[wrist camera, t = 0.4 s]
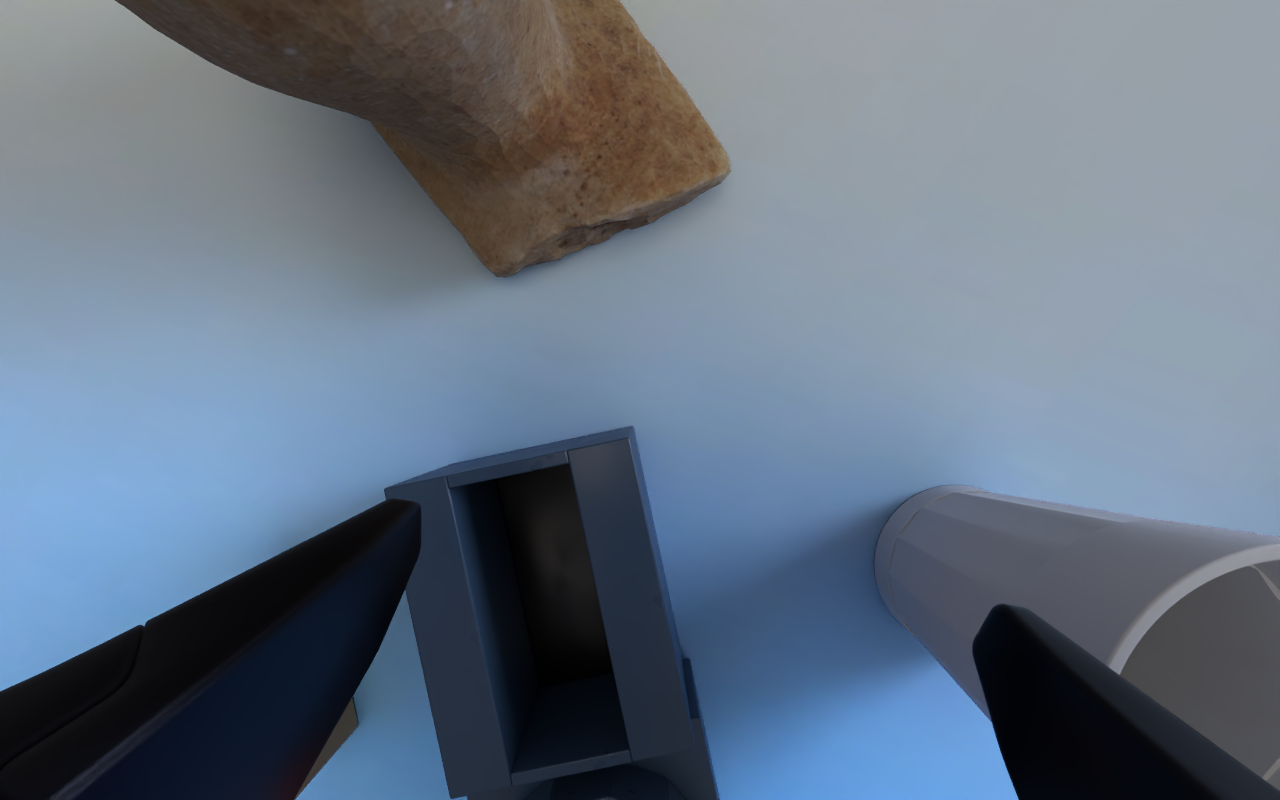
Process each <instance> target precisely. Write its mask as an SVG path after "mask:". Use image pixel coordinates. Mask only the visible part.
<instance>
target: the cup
mask: <svg viewBox="0 0 1280 800" xmlns="http://www.w3.org/2000/svg"><path fill="white" fill-rule="evenodd" d="M874 571H875V579H876V584H877V587H878V590H879V593H880V596H881V598H882V600H883V602H884V604H885V605H886V607H887V609H888V610H889V611H890V613H891V614H892V615H893V616H894V618H895V619H896V620H897V621H898V622H899V623H900V624H901V625H903V626H904V627H905V628H906V629H907V630H908V631H909V632H910V633H912V634H913V635H914V636H915V637H916V638H917V639H918V640H919V641H920V642H921V643H922V644H923V645H924V647H925V648H926V649H927V650H928V651H929V652H930V653H931V654H932V656H933V657H934V658H935V659H936V660H937V661H938V662H939V663H940V665H941V666H942V667H943V668H944V669H945V670H946V671H947V672H948V674H949V675H950V676H951V677H952V678H953V679H954V680H955V681H956V683H957V684H958V685H959V686H960V687H961V688H962V689H963V690H964V692H965V693H966V694H967V695H968V696H969V697H970V698H971V699H972V701H973V702H974V703H975V704H976V705H977V706H978V707H979V708H980V710H981V711H982V712H983V713H984V714H985V715H986V716H987V717H988V719H989V720H990V721H991V717H990V714H989V710H988V707H987V704H986V700H985V697H984V693H983V690H982V686H981V683H980V679H979V676H978V672H977V669H976V666H975V662H974V659H973V654H972V644H973V640H974V638H975V636H976V634H977V633H978V631H979V629H980V627H981V626H982V624H983V622H984V621H985V619H986V617H987V616H988V614H989V612H990V610H991V609H992V608H993V607H994V606H995V605H997V604H1001V603H1004V604H1009V605H1015V606H1021V607H1024V608H1027V609H1029V610H1030V611H1032V612H1033V613H1035V614H1036V615H1037V616H1039V617H1040V618H1042V619H1043V620H1044V621H1046V622H1047V623H1049V624H1050V625H1051V626H1053V627H1054V628H1055V629H1057V630H1058V631H1060V632H1061V633H1062V634H1064V635H1065V636H1066V637H1068V638H1069V639H1071V640H1072V641H1073V642H1075V643H1076V644H1078V645H1079V646H1080V647H1082V648H1083V649H1084V650H1086V651H1087V652H1089V653H1090V654H1091V655H1093V656H1094V657H1095V658H1097V659H1098V660H1100V661H1101V662H1102V663H1104V664H1105V665H1107V666H1108V667H1109V668H1111V669H1112V670H1113V671H1115V672H1116V673H1118V674H1119V675H1120V676H1122V677H1123V678H1124V679H1126V680H1127V681H1129V682H1130V683H1131V684H1133V685H1134V686H1136V687H1137V688H1138V689H1140V690H1141V691H1142V692H1144V693H1145V694H1147V695H1148V696H1149V697H1151V698H1152V699H1153V700H1155V701H1156V702H1158V703H1159V704H1160V705H1162V706H1163V707H1165V708H1166V709H1167V710H1169V711H1170V712H1171V713H1173V714H1174V715H1176V716H1177V717H1178V718H1180V719H1181V720H1182V721H1184V722H1185V723H1187V724H1188V725H1189V726H1191V727H1192V728H1194V729H1195V730H1196V731H1198V732H1199V733H1200V734H1202V735H1203V736H1205V737H1206V738H1207V739H1209V740H1210V741H1211V742H1213V743H1214V744H1216V745H1217V746H1218V747H1220V748H1221V749H1223V750H1224V751H1225V752H1227V753H1228V754H1229V755H1231V756H1232V757H1234V758H1235V759H1236V760H1238V761H1239V762H1240V763H1242V764H1243V765H1245V766H1246V767H1247V768H1249V769H1250V770H1252V771H1253V772H1254V773H1256V774H1257V775H1258V776H1260V777H1261V778H1263V779H1264V780H1265V781H1267V782H1268V783H1269V784H1271V785H1272V786H1274V787H1275V788H1276V789H1278V790H1279V791H1280V537H1278V536H1271V535H1264V534H1257V533H1250V532H1243V531H1236V530H1229V529H1222V528H1215V527H1208V526H1202V525H1195V524H1188V523H1181V522H1174V521H1165V520H1158V519H1152V518H1146V517H1140V516H1134V515H1127V514H1121V513H1115V512H1109V511H1103V510H1096V509H1090V508H1084V507H1078V506H1072V505H1065V504H1059V503H1053V502H1047V501H1041V500H1034V499H1028V498H1022V497H1016V496H1010V495H1003V494H997V493H992V492H989V491H985V490H982V489H978V488H974V487H970V486H963V485H946V486H939V487H935V488H931V489H928V490H925V491H923V492H921V493H919V494H917V495H915V496H913V497H911V498H910V499H908V500H907V501H906V502H904V503H903V504H902V505H901V506H900V507H899V508H898V509H897V510H896V511H895V512H894V513H893V514H892V515H891V517H890V518H889V519H888V521H887V523H886V524H885V526H884V528H883V530H882V532H881V534H880V536H879V539H878V542H877V546H876V551H875V559H874ZM991 722H992V721H991Z"/></svg>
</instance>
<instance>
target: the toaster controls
mask: <svg viewBox="0 0 1280 800" xmlns="http://www.w3.org/2000/svg"><path fill="white" fill-rule="evenodd" d="M682 661H683V668H684V675H685V682H686V689H687V695H688V702H689V709H690V716H691V723H692V730H693V737H694V743H695V748H694V749H693V750H688V751H683V752H678V753H673V754H668V755H663V756H659V757H654V758H649V759H644V760H639V761H633V760H632V762H631V763H626V764H621V765H616V766H611V767H606V768H602V769H597V770H592V771H587V772H582V773H577V774H572V775H567V776H563V777H558V778H553V779H548V780H543V781H538V782H533V783H528V784H524V785H519V786H513V785H512V786H511V787H507V788H502V789H497V790H492V791H487V792H483V793H478V794H473V795H468V796H467V798H468V800H720V798H719V794H718V789H717V784H716V779H715V775H714V770H713V765H712V760H711V756H710V751H709V746H708V741H707V737H706V732H705V727H704V722H703V718H702V713H701V708H700V703H699V699H698V694H697V689H696V684H695V680H694V675H693V670H692V665H691V661H690V659H684V660H682Z"/></svg>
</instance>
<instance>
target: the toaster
mask: <svg viewBox="0 0 1280 800" xmlns="http://www.w3.org/2000/svg"><path fill="white" fill-rule="evenodd" d="M384 492H385V497H386V500H387V499H390V498H393V497H396V498H403V499H408V500H414V501H417V502H418V503H419V504H420V506H421V549H420V553H419V557H418V560H417V562H416V564H415V567H414V569H413V571H412V574H411V576H410V578H409V581H408V583H407V585H406V588H405V590H406V594H407V599H408V604H409V608H410V613H411V618H412V622H413V627H414V632H415V636H416V641H417V646H418V650H419V655H420V660H421V664H422V669H423V674H424V678H425V683H426V688H427V692H428V697H429V701H430V706H431V711H432V715H433V720H434V725H435V729H436V734H437V739H438V743H439V748H440V753H441V757H442V762H443V767H444V771H445V776H446V781H447V785H448V790H449V795H450V798H451V799H453V798H458V797H463V796H468V795H473V794H478V793H483V792H487V791H492V790H497V789H502V788H507V787H511V786H512V785H513V786H519V785H524V784H528V783H533V782H538V781H543V780H548V779H553V778H558V777H563V776H567V775H572V774H577V773H582V772H587V771H592V770H597V769H602V768H606V767H611V766H616V765H621V764H626V763H631V762H632V760H633V761H639V760H644V759H649V758H654V757H659V756H663V755H668V754H673V753H678V752H683V751H688V750H693V749H694V748H695V743H694V737H693V730H692V723H691V716H690V709H689V702H688V695H687V689H686V682H685V675H684V668H683V661H682V655H681V650H680V645H679V640H678V636H677V631H676V626H675V621H674V617H673V612H672V607H671V602H670V598H669V593H668V588H667V584H666V579H665V574H664V569H663V565H662V560H661V555H660V550H659V546H658V541H657V536H656V531H655V527H654V522H653V517H652V512H651V508H650V503H649V498H648V493H647V489H646V484H645V479H644V474H643V470H642V465H641V460H640V455H639V451H638V446H637V441H636V436H635V432H634V427H633V426H630V427H625V428H620V429H615V430H611V431H606V432H601V433H596V434H592V435H588V436H582V437H577V438H572V439H568V440H563V441H558V442H553V443H549V444H544V445H539V446H534V447H530V448H525V449H520V450H515V451H511V452H506V453H501V454H498V455H492V456H487V457H482V458H477V459H473V460H468V461H463V462H458V463H454V464H450V465H448V466H445V467H442V468H439V469H437V470H434V471H431V472H428V473H426V474H423V475H420V476H417V477H415V478H412V479H409V480H406V481H404V482H401V483H398V484H395V485H393V486H390V487H387V488H385V489H384Z"/></svg>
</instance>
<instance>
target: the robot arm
mask: <svg viewBox="0 0 1280 800" xmlns="http://www.w3.org/2000/svg"><path fill="white" fill-rule="evenodd" d="M420 549H421V506H420V504H419V503H418V502H417V501H414V500H408V499H403V498H396V497H393V498H390V499H387V500H385V501H383V502H382V503H380V504H378V505H376V506H374V507H372V508H370V509H368V510H366V511H364V512H362V513H360V514H358V515H356V516H354V517H352V518H350V519H348V520H346V521H344V522H342V523H340V524H338V525H336V526H334V527H332V528H330V529H328V530H326V531H324V532H322V533H320V534H318V535H316V536H314V537H312V538H310V539H308V540H306V541H304V542H302V543H300V544H298V545H296V546H294V547H293V548H291V549H289V550H287V551H285V552H283V553H281V554H279V555H277V556H275V557H273V558H271V559H269V560H267V561H265V562H263V563H261V564H259V565H257V566H255V567H253V568H251V569H249V570H247V571H245V572H243V573H241V574H239V575H237V576H235V577H233V578H231V579H229V580H227V581H225V582H223V583H221V584H219V585H217V586H215V587H213V588H211V589H209V590H207V591H206V592H204V593H202V594H200V595H198V596H196V597H194V598H192V599H190V600H188V601H186V602H184V603H182V604H180V605H178V606H176V607H174V608H172V609H170V610H168V611H166V612H164V613H162V614H160V615H158V616H156V617H154V618H152V619H150V620H148V621H147V622H146V624H145V627H144V626H143V625H138V626H136V627H134V628H132V629H130V630H128V631H126V632H124V633H122V634H120V635H118V636H116V637H114V638H112V639H110V640H108V641H106V642H104V643H102V644H100V645H98V646H96V647H94V648H92V649H90V650H88V651H86V652H84V653H82V654H80V655H78V656H75V657H73V658H71V659H69V660H67V661H65V662H63V663H61V664H59V665H57V666H55V667H53V668H51V669H49V670H47V671H45V672H42V673H40V674H38V675H36V676H34V677H31V678H29V679H27V680H25V681H22V682H20V683H18V684H16V685H14V686H11V687H9V688H7V689H5V690H3V691H0V800H294V799H295V797H296V795H297V794H298V792H299V790H300V788H301V787H302V785H303V783H304V781H305V780H306V778H307V776H308V774H309V773H310V771H311V769H312V767H313V765H314V764H315V762H316V760H317V758H318V757H319V755H320V753H321V751H322V750H323V748H324V746H325V744H326V743H327V741H328V739H329V737H330V735H331V734H332V732H333V730H334V728H335V727H336V725H337V723H338V721H339V720H340V718H341V716H342V714H343V713H344V711H345V709H346V707H347V705H348V704H349V702H350V700H351V698H352V697H353V695H354V693H355V691H356V690H357V688H358V686H359V684H360V682H361V681H362V679H363V677H364V675H365V674H366V672H367V670H368V668H369V667H370V665H371V663H372V661H373V659H374V657H375V655H376V653H377V652H378V650H379V647H380V645H381V643H382V641H383V639H384V636H385V634H386V632H387V630H388V627H389V625H390V623H391V620H392V618H393V616H394V613H395V611H396V609H397V606H398V604H399V602H400V599H401V597H402V595H403V592H404V590H405V588H406V585H407V583H408V581H409V578H410V576H411V574H412V571H413V569H414V567H415V564H416V562H417V560H418V557H419V553H420ZM972 654H973V659H974V662H975V666H976V669H977V672H978V676H979V679H980V683H981V686H982V690H983V693H984V697H985V700H986V704H987V707H988V710H989V714H990V717H991V721H992V724H993V728H994V731H995V735H996V738H997V741H998V744H999V748H1000V751H1001V754H1002V757H1003V760H1004V762H1005V765H1006V768H1007V771H1008V773H1009V776H1010V778H1011V781H1012V783H1013V786H1014V789H1015V791H1016V794H1017V796H1018V799H1019V800H1280V791H1279V790H1278V789H1276V788H1275V787H1274V786H1272V785H1271V784H1269V783H1268V782H1267V781H1265V780H1264V779H1263V778H1261V777H1260V776H1258V775H1257V774H1256V773H1254V772H1253V771H1252V770H1250V769H1249V768H1247V767H1246V766H1245V765H1243V764H1242V763H1240V762H1239V761H1238V760H1236V759H1235V758H1234V757H1232V756H1231V755H1229V754H1228V753H1227V752H1225V751H1224V750H1223V749H1221V748H1220V747H1218V746H1217V745H1216V744H1214V743H1213V742H1211V741H1210V740H1209V739H1207V738H1206V737H1205V736H1203V735H1202V734H1200V733H1199V732H1198V731H1196V730H1195V729H1194V728H1192V727H1191V726H1189V725H1188V724H1187V723H1185V722H1184V721H1182V720H1181V719H1180V718H1178V717H1177V716H1176V715H1174V714H1173V713H1171V712H1170V711H1169V710H1167V709H1166V708H1165V707H1163V706H1162V705H1160V704H1159V703H1158V702H1156V701H1155V700H1153V699H1152V698H1151V697H1149V696H1148V695H1147V694H1145V693H1144V692H1142V691H1141V690H1140V689H1138V688H1137V687H1136V686H1134V685H1133V684H1131V683H1130V682H1129V681H1127V680H1126V679H1124V678H1123V677H1122V676H1120V675H1119V674H1118V673H1116V672H1115V671H1113V670H1112V669H1111V668H1109V667H1108V666H1107V665H1105V664H1104V663H1102V662H1101V661H1100V660H1098V659H1097V658H1095V657H1094V656H1093V655H1091V654H1090V653H1089V652H1087V651H1086V650H1084V649H1083V648H1082V647H1080V646H1079V645H1078V644H1076V643H1075V642H1073V641H1072V640H1071V639H1069V638H1068V637H1066V636H1065V635H1064V634H1062V633H1061V632H1060V631H1058V630H1057V629H1055V628H1054V627H1053V626H1051V625H1050V624H1049V623H1047V622H1046V621H1044V620H1043V619H1042V618H1040V617H1039V616H1037V615H1036V614H1035V613H1033V612H1032V611H1030V610H1029V609H1027V608H1024V607H1021V606H1015V605H1009V604H1004V603H1001V604H997V605H995V606H994V607H993V608H992V609H991V610H990V612H989V614H988V616H987V617H986V619H985V621H984V622H983V624H982V626H981V627H980V629H979V631H978V633H977V634H976V636H975V638H974V640H973V644H972Z"/></svg>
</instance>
